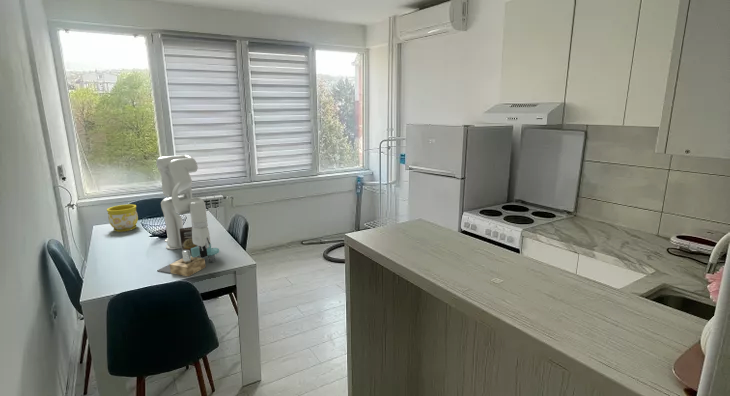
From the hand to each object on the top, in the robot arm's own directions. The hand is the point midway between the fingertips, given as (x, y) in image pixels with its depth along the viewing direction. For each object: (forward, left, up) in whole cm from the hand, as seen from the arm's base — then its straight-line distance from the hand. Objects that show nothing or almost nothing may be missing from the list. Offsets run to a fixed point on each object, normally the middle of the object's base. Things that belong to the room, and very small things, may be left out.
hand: (203, 256), depth 199 cm
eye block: (-7, -4, -7) cm, 11 cm away
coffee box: (-23, +14, -7) cm, 28 cm away
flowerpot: (-107, +37, -7) cm, 114 cm away
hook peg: (-7, -4, -7) cm, 11 cm away
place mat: (-18, -6, -7) cm, 20 cm away
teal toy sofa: (-5, +7, -7) cm, 11 cm away
